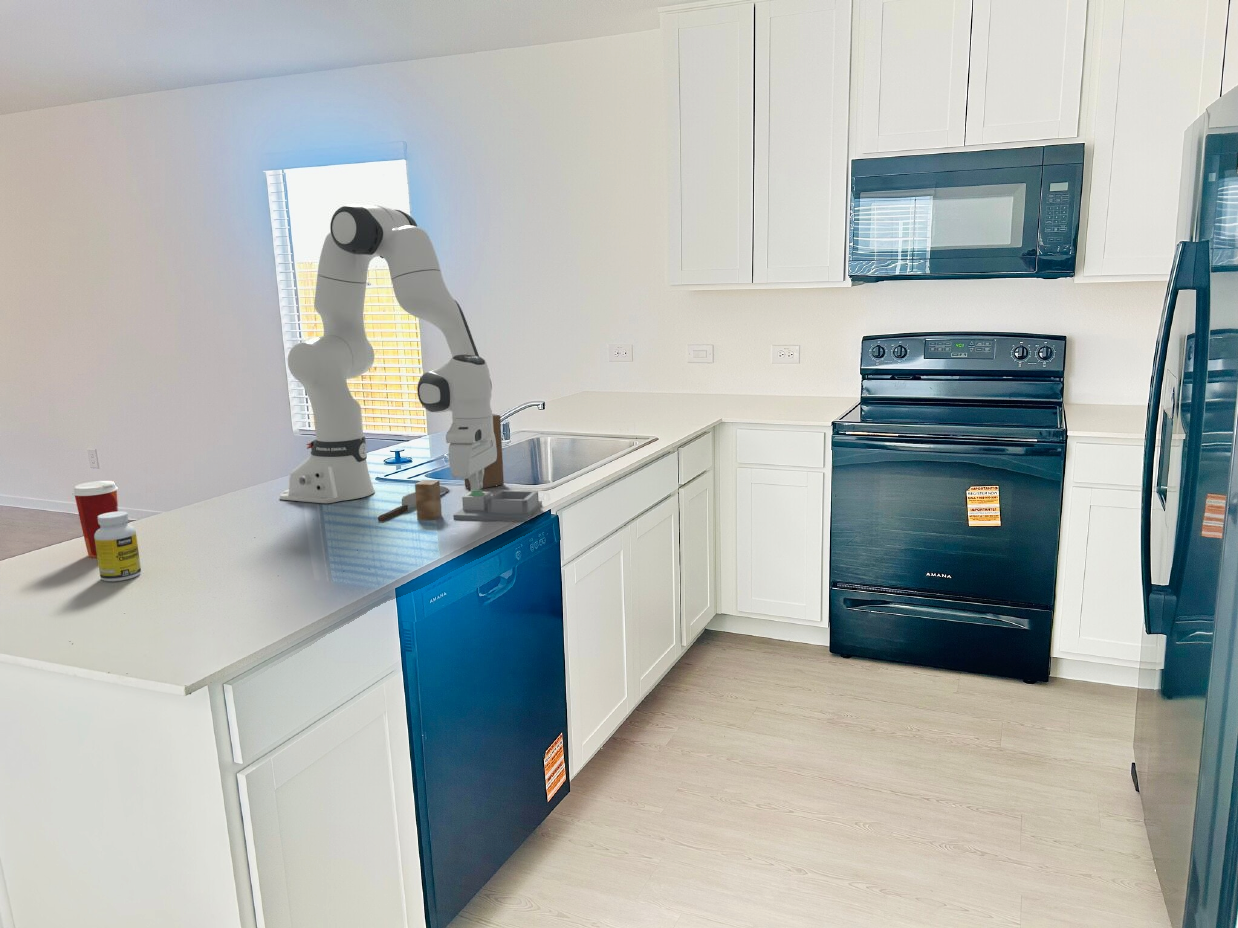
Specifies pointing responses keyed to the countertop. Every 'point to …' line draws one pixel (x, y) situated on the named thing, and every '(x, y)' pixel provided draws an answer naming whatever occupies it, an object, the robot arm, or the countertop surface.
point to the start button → (477, 493)
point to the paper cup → (94, 508)
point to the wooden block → (494, 470)
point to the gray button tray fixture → (499, 506)
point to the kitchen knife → (405, 505)
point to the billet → (428, 500)
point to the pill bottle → (117, 547)
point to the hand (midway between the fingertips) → (476, 489)
